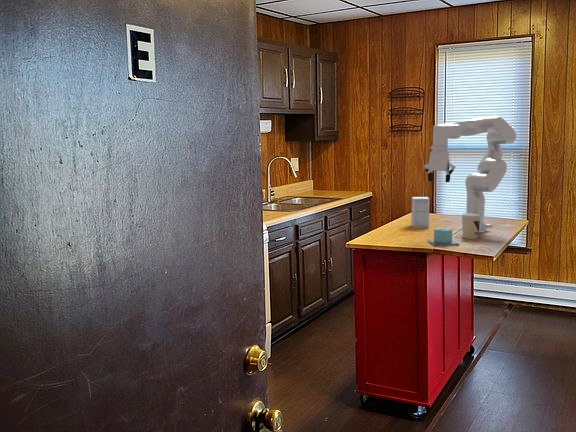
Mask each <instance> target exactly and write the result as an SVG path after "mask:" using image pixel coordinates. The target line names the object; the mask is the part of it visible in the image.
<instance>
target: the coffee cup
mask: <svg viewBox="0 0 576 432" xmlns="http://www.w3.org/2000/svg"><path fill="white" fill-rule="evenodd" d="M480 217H481V216H480V214H473V213H466V212H465V213H462V215H461V223H462V225H461V226H462V238H464V239H471V240H472V239H473V240H474V239H475V240H476V239H478V238H479V234H480V232H479V227H480Z"/></svg>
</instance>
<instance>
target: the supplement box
mask: <svg viewBox="0 0 576 432" xmlns="http://www.w3.org/2000/svg"><path fill="white" fill-rule="evenodd" d="M410 218H411V219H410V220H411V221H410V225H411V227H412V228H430V198H429V197H428V196H412V197H411V217H410Z"/></svg>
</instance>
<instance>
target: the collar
mask: <svg viewBox="0 0 576 432" xmlns="http://www.w3.org/2000/svg"><path fill="white" fill-rule="evenodd" d="M441 229H446V230H441ZM433 239H434V242H441V243H448V242H451V241H452V240H453V229H452V228H444V227H439V228H435V229H433Z"/></svg>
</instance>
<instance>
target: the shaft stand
mask: <svg viewBox="0 0 576 432" xmlns="http://www.w3.org/2000/svg"><path fill="white" fill-rule="evenodd" d="M446 229H447V228H446ZM446 229H441V230H446ZM427 241H429V242H431V243H432V244H434V245H456V246H458V247H459V246H460V242H457V241H455V240H453V239H452V241H451V242H448V243H441V242H434V238H433V239H432V238H431V239H426V242H427ZM429 242H428V243H429ZM431 243H430V244H431ZM432 244H431V245H432ZM434 245H433V246H434Z"/></svg>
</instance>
